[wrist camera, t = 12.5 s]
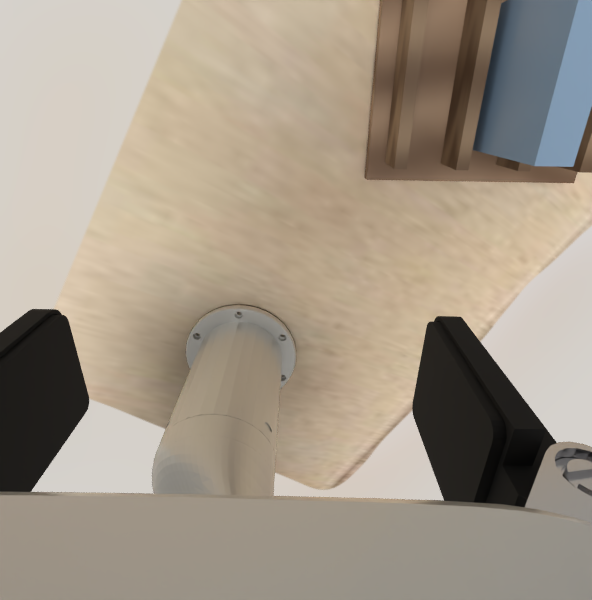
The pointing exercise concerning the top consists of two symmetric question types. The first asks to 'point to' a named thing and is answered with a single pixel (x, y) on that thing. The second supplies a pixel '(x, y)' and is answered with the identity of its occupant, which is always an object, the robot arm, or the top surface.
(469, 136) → the rack
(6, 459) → the robot arm
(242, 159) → the top surface
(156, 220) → the top surface
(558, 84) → the tile
